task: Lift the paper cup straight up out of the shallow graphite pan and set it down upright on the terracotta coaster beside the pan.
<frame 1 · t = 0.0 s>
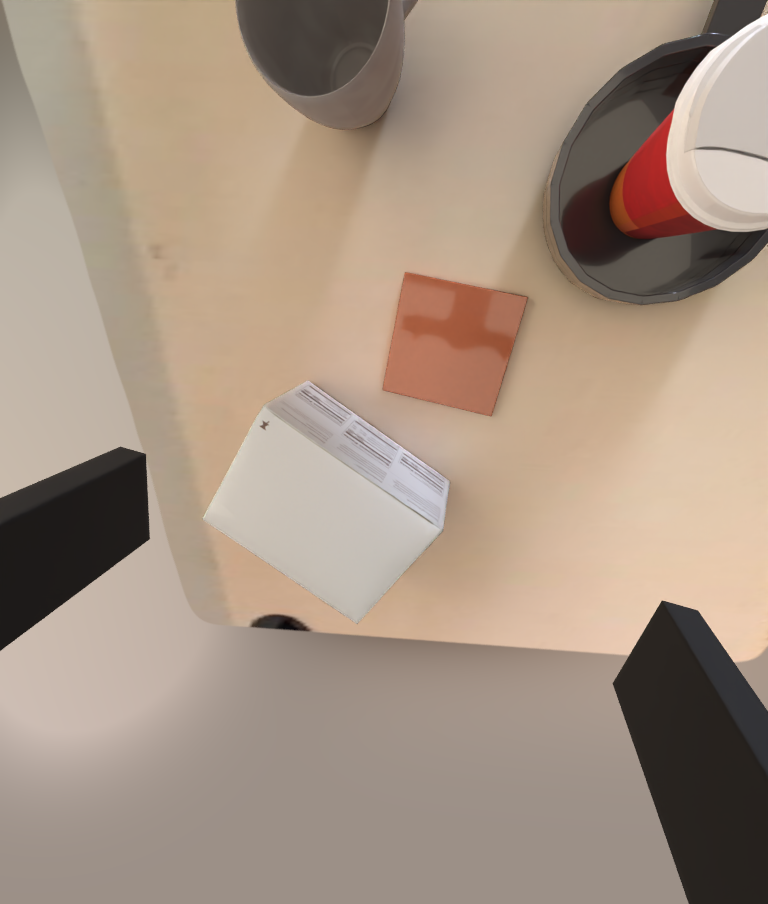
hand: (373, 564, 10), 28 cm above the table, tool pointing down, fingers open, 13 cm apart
coaster: (450, 346, 35), on the table
mug: (376, 65, 30), on the table
paper cup: (650, 194, 29), resting on pan
supplement box: (347, 477, 42), on the table
pan: (650, 195, 29), on the table
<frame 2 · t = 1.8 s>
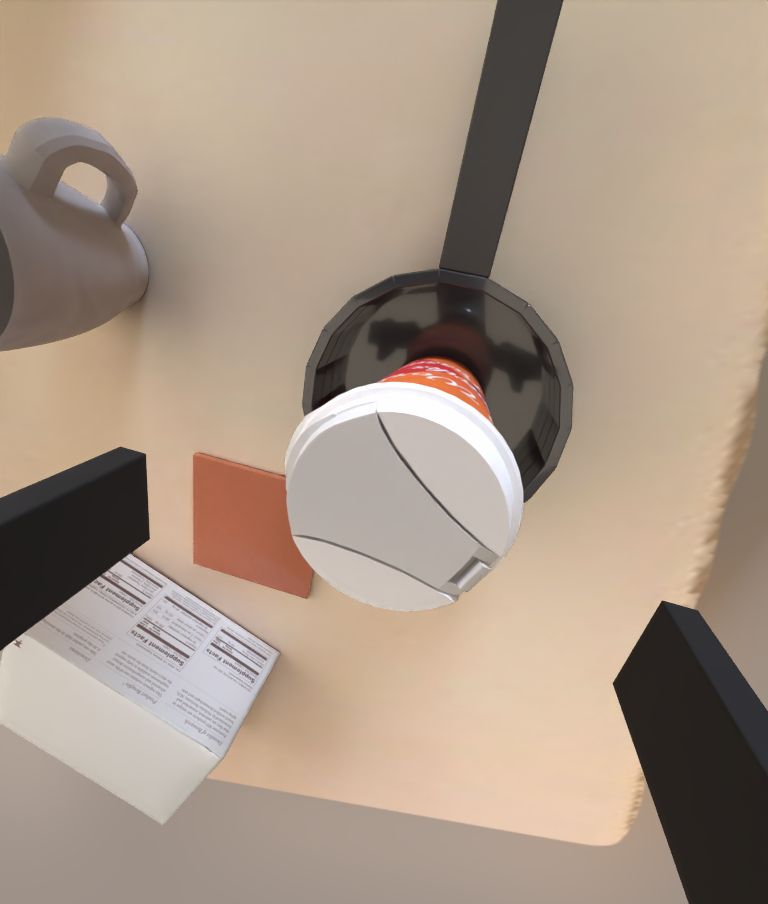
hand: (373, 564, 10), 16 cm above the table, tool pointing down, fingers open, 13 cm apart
coaster: (256, 526, 32), on the table
mug: (127, 245, 26), on the table
paper cup: (434, 400, 25), resting on pan
supplement box: (178, 637, 39), on the table
pan: (434, 400, 25), on the table
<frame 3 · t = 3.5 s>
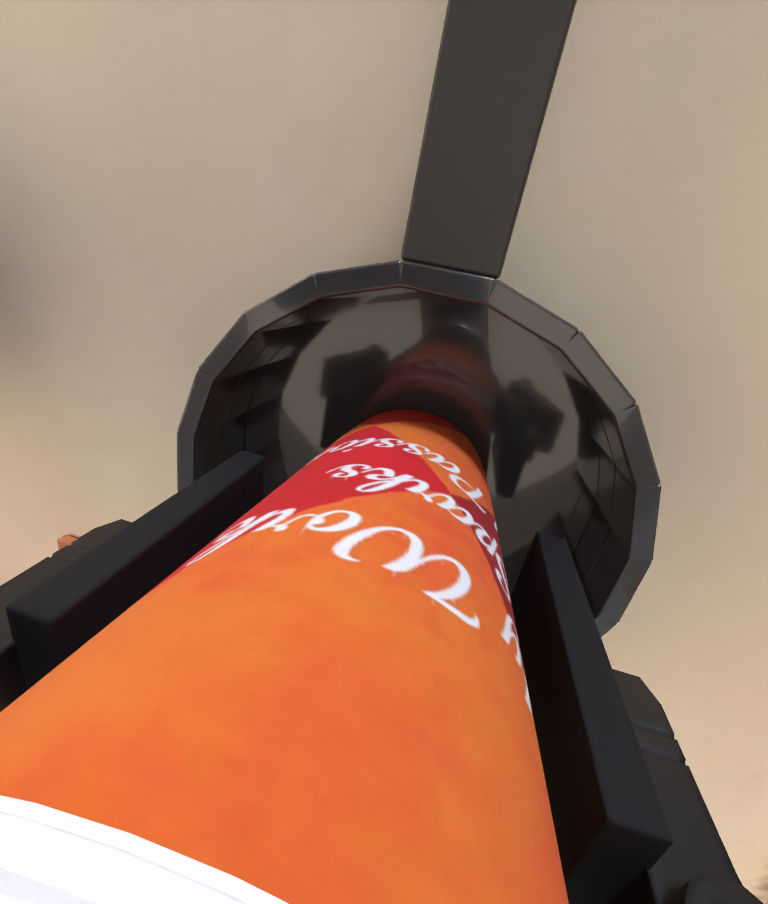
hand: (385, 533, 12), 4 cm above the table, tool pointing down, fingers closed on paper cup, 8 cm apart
paper cup: (407, 477, 15), resting on pan, touching gripper
pan: (407, 476, 15), on the table
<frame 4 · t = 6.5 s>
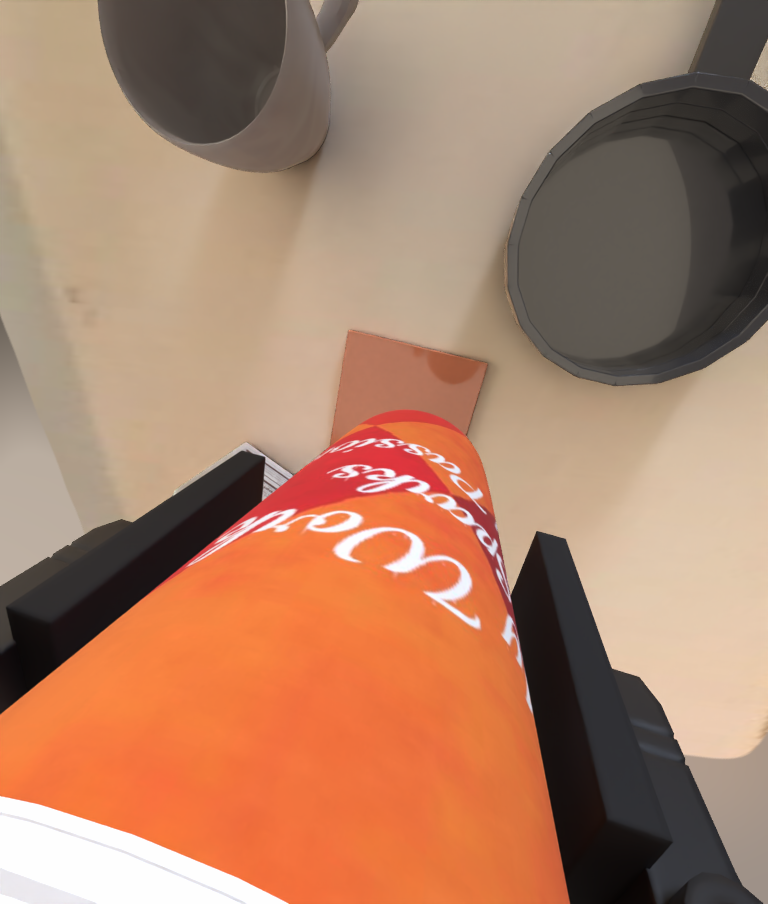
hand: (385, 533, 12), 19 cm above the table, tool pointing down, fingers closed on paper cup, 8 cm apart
coaster: (402, 412, 31), on the table
mug: (308, 93, 25), on the table
paper cup: (407, 477, 15), point 16 cm above the table, touching gripper
supplement box: (294, 544, 38), on the table
pan: (628, 254, 24), on the table
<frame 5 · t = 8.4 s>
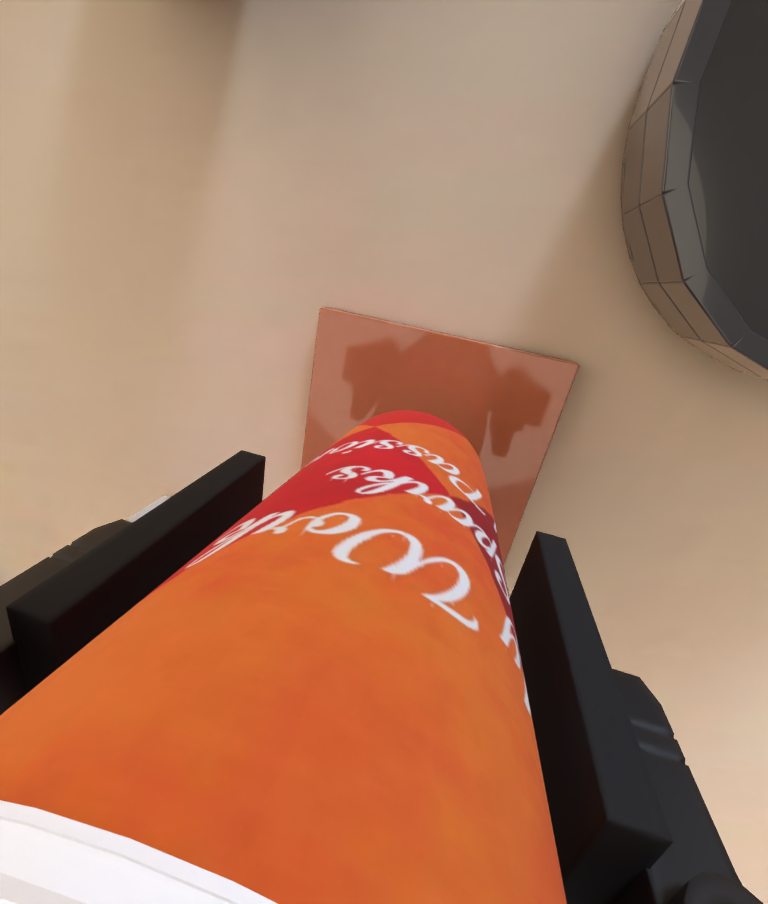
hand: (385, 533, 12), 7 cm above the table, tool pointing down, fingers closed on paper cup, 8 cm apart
coaster: (417, 449, 18), on the table
paper cup: (407, 478, 15), point 3 cm above the table, touching gripper
when the fingers open (4 cm above the table, at t = 9.5 s): paper cup stays where it is, resting on coaster.
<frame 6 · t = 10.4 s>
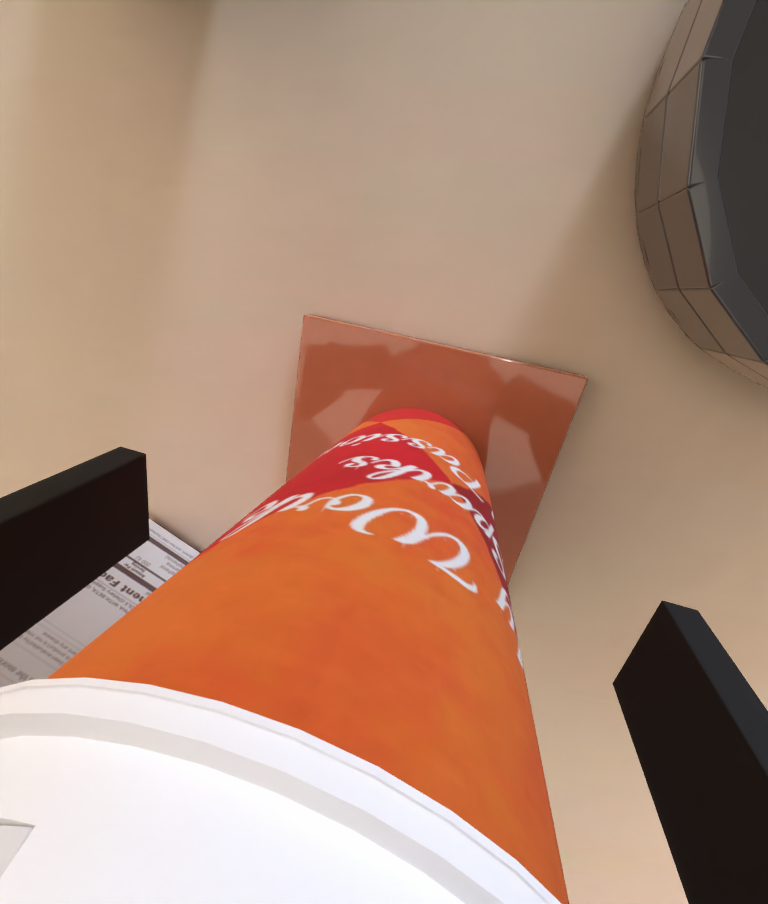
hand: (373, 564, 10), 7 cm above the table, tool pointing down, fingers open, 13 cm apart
coaster: (411, 468, 16), on the table
paper cup: (409, 473, 16), resting on coaster
supplement box: (236, 669, 23), on the table
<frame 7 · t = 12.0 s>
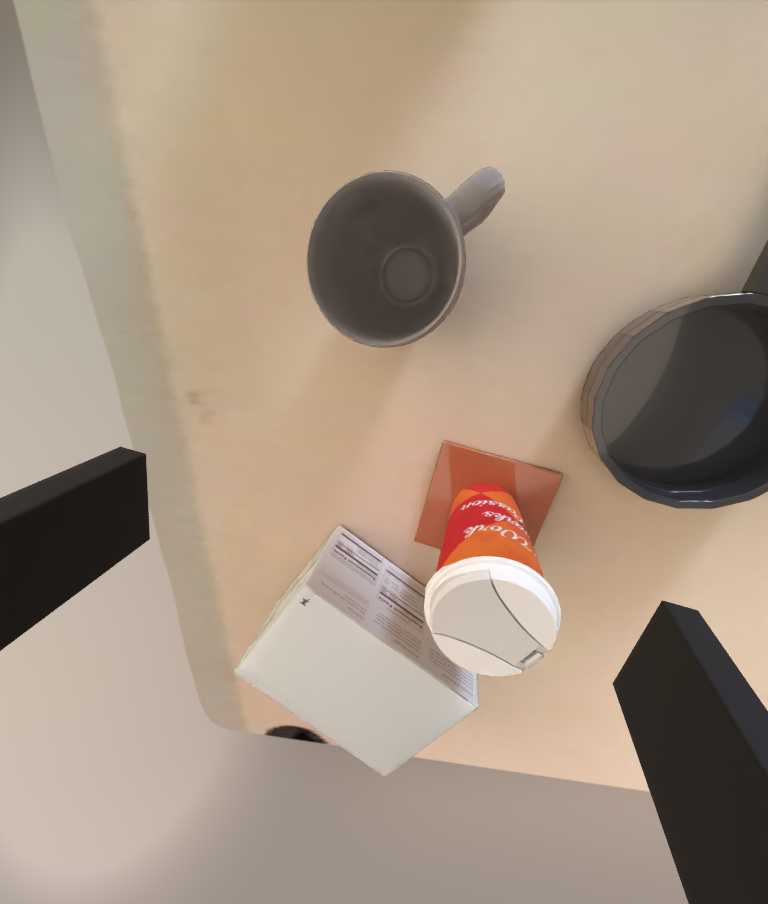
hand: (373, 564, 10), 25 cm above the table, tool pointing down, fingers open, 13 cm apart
coaster: (483, 507, 36), on the table
mug: (425, 262, 31), on the table
paper cup: (483, 510, 36), resting on coaster
supplement box: (372, 611, 42), on the table
pan: (686, 399, 30), on the table
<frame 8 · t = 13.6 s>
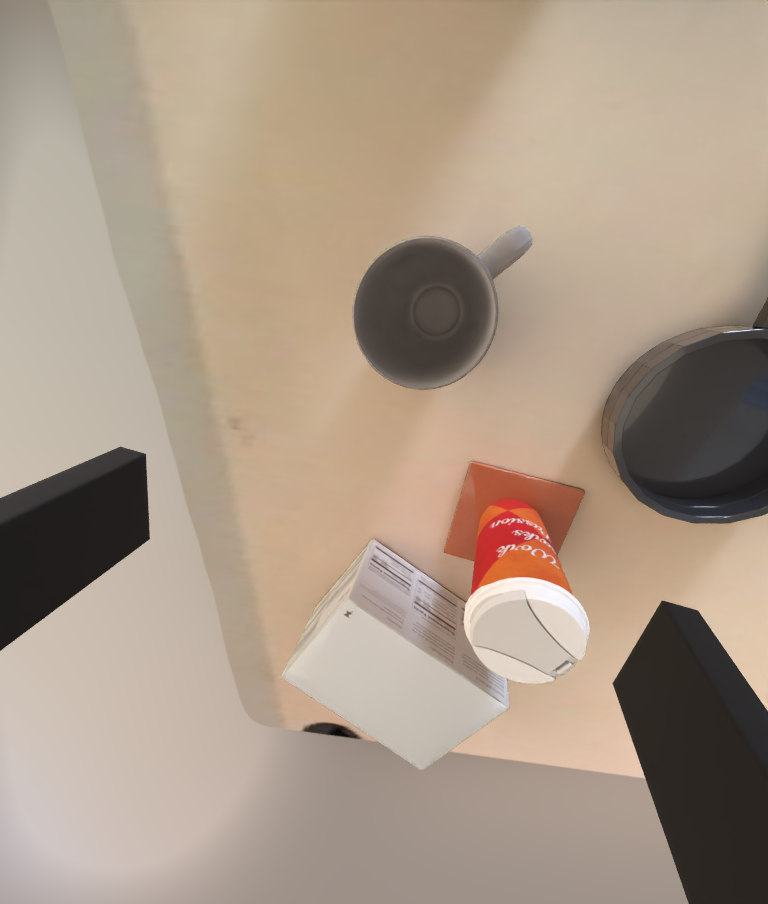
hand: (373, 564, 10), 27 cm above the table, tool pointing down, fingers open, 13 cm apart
coaster: (509, 521, 38), on the table
mug: (453, 298, 33), on the table
paper cup: (509, 523, 38), resting on coaster
supplement box: (404, 616, 45), on the table
pan: (701, 420, 32), on the table
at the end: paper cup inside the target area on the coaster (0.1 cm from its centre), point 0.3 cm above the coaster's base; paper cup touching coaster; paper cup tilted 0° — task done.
